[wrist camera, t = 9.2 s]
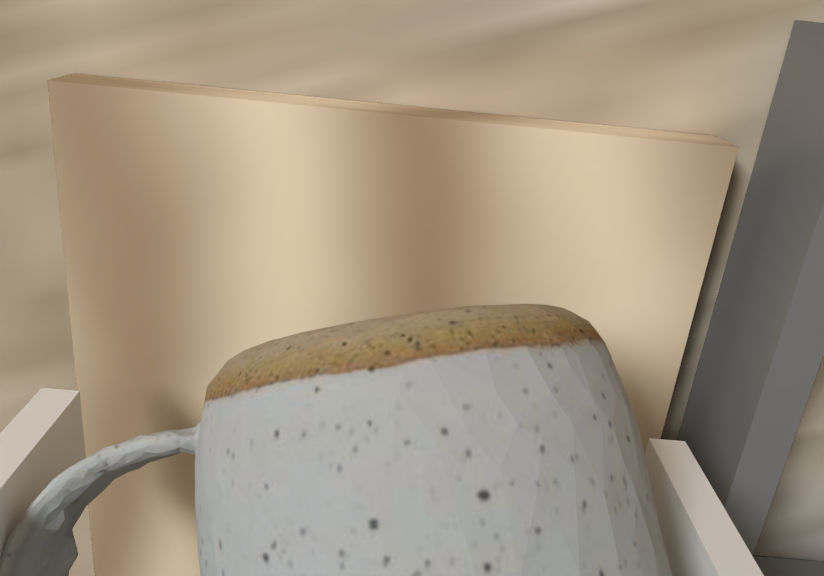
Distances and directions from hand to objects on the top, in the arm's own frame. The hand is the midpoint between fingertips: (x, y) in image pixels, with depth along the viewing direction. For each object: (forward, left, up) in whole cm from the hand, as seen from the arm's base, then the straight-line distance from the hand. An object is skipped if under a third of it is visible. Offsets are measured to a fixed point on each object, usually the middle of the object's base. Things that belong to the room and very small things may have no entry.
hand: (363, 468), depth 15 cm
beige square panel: (0, 0, -4) cm, 4 cm away
